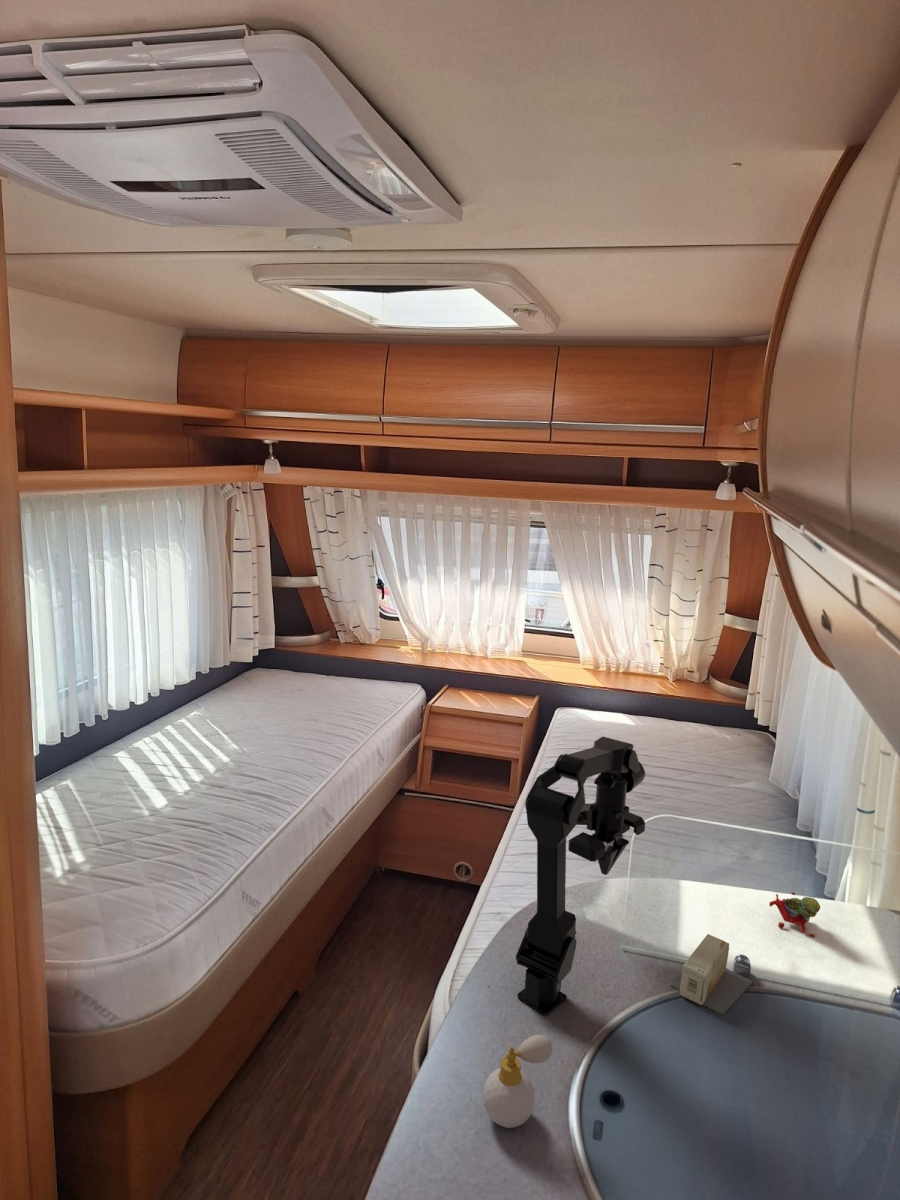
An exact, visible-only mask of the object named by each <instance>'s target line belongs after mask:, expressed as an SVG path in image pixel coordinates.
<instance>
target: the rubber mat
mask: <svg viewBox="0 0 900 1200" xmlns="http://www.w3.org/2000/svg"><path fill="white" fill-rule="evenodd" d="M681 976H682V973H681V974H680V975H679V976H678V977H677V978H676V979H674V980H673V981H672V982H671V983H670V987H671V988H673V989H674V990H676V991H678V992H680V984H681ZM752 984H753V981H752V980H750V979H748V978H746V977H745V976H742V975H740V974H738V973H736V972H734V971H733V970H730V969H729V968H727V967H726V970H725V972H724V973H723V975H722V976H721V978H720V979H719V981H718V982H717V984H716V985H715V987H714V988H713V990H712V991H711V993H710V994H709V996H708V997H707V999H706V1000H705V1002H704V1003H703V1005H702V1006H705V1007H707V1008H708V1009H709V1010H710V1009H711V1010H712V1011H714V1012H715V1013H717V1014H720V1015H721V1016H723V1015H724V1014H725V1013H726V1012H727V1011H728V1010H729V1009H730V1008H731V1006H733V1005H734V1004H735V1002H736V1001H737V1000H738V999H739V998H740V997H741V996H742V995H743V994H744V993H745V992H746V991H747V990H748V988H749V987H750V986H751V985H752Z"/></svg>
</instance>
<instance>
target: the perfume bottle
mask: <svg viewBox="0 0 900 1200" xmlns="http://www.w3.org/2000/svg"><path fill="white" fill-rule="evenodd" d="M552 1054H553V1045H552V1042H551V1040H550V1039H549V1038H548V1037H547V1036H546V1035H543V1034H535V1035H532V1036H530V1037H528V1038H526V1039H525V1040H523V1042H522V1043H521V1044H520V1045H519V1047H518V1050H516V1052H515V1048H514V1046H512V1045H511V1046H510V1047H509V1048H508V1052H506V1053H505V1057H503V1058H502V1059H501V1060H500V1066H499V1068H497V1069H495V1070H494V1071H492V1072H491V1073H490V1074H489V1076H488V1077H487V1079H486V1081H485V1084H484V1086H483V1093H482V1094H483V1095H482V1100H483V1106H484V1108H485V1110H486V1113H487V1115H488V1116H489V1118H490V1119H491V1120H492V1121H493V1122H494V1123H496V1124H497V1125H498V1126H501V1127H503V1128H508V1129H512V1128H517V1127H519V1126H522V1125H524V1123H526V1121H527V1120H528V1119H529V1118H530V1117H531V1114H532V1113H533V1112H534V1107H535V1102H536V1101H535V1100H536V1096H535V1088H534V1086H533V1084H532V1083H533V1082H532V1081H531V1079H530V1078H529V1076H527V1073H525V1072H524V1071H523V1070H521V1069H522V1065H521V1061H520V1060H519V1059H518V1058H520V1059H521V1060H522V1061H524V1062H526V1063H530V1064H541V1063H544V1062H547V1060H550V1057H551V1056H552ZM517 1057H518V1058H517Z"/></svg>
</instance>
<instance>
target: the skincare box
mask: <svg viewBox="0 0 900 1200" xmlns="http://www.w3.org/2000/svg"><path fill="white" fill-rule="evenodd" d="M729 950H730V943H729V942H727V941H725V940H724V939H720V938H719V937H716V936H714V935H712V934H709V933H707V934H706V935H705V937H704V938H703V939H702V941H701V942H700V943H699V944H698V946H697V947H696V948H695V950H694V951H693V952H692V954H691V955H690V956H689V958H688V959H687V960H686V961H685V963H684V964H683V965H682V971H681V974H682V976H681V984H680V991H679V996H682V997H684V998H685V999H688V1000H690V1001H691V1002H694V1003H695V1004H698V1005H700V1006H704V1005H703V1003H704V1002H705V1000H706V999H707V997H708V996H709V994H710V993H711V991H712V990H713V988H714V987H715V985H716V984H717V982H718V981H719V979H720V978H721V976H722V975H723V973H724V972H725V970H726V968H727V964H728V959H729V953H730V951H729Z"/></svg>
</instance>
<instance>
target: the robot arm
mask: <svg viewBox="0 0 900 1200" xmlns="http://www.w3.org/2000/svg"><path fill="white" fill-rule="evenodd" d="M596 775H597V777H595V779H594V782H593V783H594V785H596V791H595V802H592V803H586V796H585V787H584V785H585V784H586V781H587V779H588V778H590V777H591V778H592V777H594V776H596ZM645 777H646V770H645V768H644V766H643V764H642V763H641V762H640V761H639V758H638V755H637V752H636V750H634V745H633V744H632V743H631V742H625V741H622V740H618V739H614V738H611V737H606V736H601V737H599V738H598V739H596V740H595V741H593V746H592V747H589V748H587V749H583V750H580V751H576V752H572V753H569V754H568V753H564V754H562V753H561V754H560V755H558V757H557V759H556V760H555V763H554V764H553V766H552V767H550V768H549V769H547V770H545V771H544V772H543V773H541V774H540V775H538V776H537V777H536V779H535V781H534V783H533V784H532V787H531V788H530V790H529V792H528V794H527V796H526V799H525V802H524V803H525V804H524V807H525V811H526V820H527V821H526V822H527V826H528V828H529V829H530V831H531V832H532V834H533V835H534V837H535V839H536V843H537V844H536V913H535V914H534V915H533V917H532V918H531V919H530V920H529V922H528V923H527V927H526V929H525V932H524V934H523V937H522V939H521V943H520V946H519V947H518V950H517V952H516V955H515V960H516V965H519V966H522V967H523V968H526V970H525V979H524V980H525V981H524V989H521V991H519V992H518V993H517V995H516V996H517V998H518V999H519V1000H521V1001H522V1002H523V1003H525V1004H526V1005H528V1006H529V1007H531V1008H532V1009H533V1010H535V1011H537V1012H538V1013H540V1014H541V1015H543V1016H547V1015H549V1014H550V1013H552V1011H554V1010H555V1009H556V1008H558V1007H559V1006H560V1005H561V1004H563V1003H564V1002H565V1001H567V998H568V996H567V994H566V993H564V992H562V991H561V989H562V981H563V980H564V979H565V978H566V977H567V976H568V974H570V972H571V970H572V966H573V961H574V959H575V958H574V957H575V954H576V948H577V939H576V935H577V930H576V924H577V916H576V915H575V913H573V912H569V911H568V910H566V874H567V871H566V870H567V869H566V868H567V867H566V866H567V848H568V852H570V853H572V854H575V855H577V856H579V857H581V858H582V859H585V860H587V861H590V862H596V861H598V866H599V870H600V873H601V874H602V875H604V876H608V875H609V873H610V871H611V870H612V868H613V867H614V865H615V864H616V862H617V860H618V859H619V858H620V856H621V854H622V853H623V851H624V850H625V848H626V847H627V845H629V844H630V840H628V839H626V838H624V834H625V833H627V832H628V831H629V830H631V827H632V828H633V833H634V835H637V836H639V835H641V834H642V833H644V832H645V830H646V822H645V820H644V818H643V817H642V816H639V815H637V814H635V813H632V812H630V807H629V806H628V805H626V802H627V801H626V800H627V793H628V794H629V793H630V792H632V791H633V790H634V789H635V788H636V787H638V785H640V784H641V783H642V782H643V781H644V779H645ZM561 778H565V779H568V780H572V781H576V782H577V790H578V791H577V792H576V794H575V796H573V795H570V794H567V793H564V792H561V791H557V790H554V789H551V788H550V787H551V786H553V785H554V784H556V783H557V782H558V781H560V780H561ZM577 826H586V830H589V831H594V833H592V834H590V833H587V832H584V831H583V832H581V833H578V834H576V836H573V837H572V838H570V839H569V840H568V845H567V838H568V836H569V835H570V834H571V832H572V831H573V830H574V828H575V827H577ZM567 846H568V847H567Z"/></svg>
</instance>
